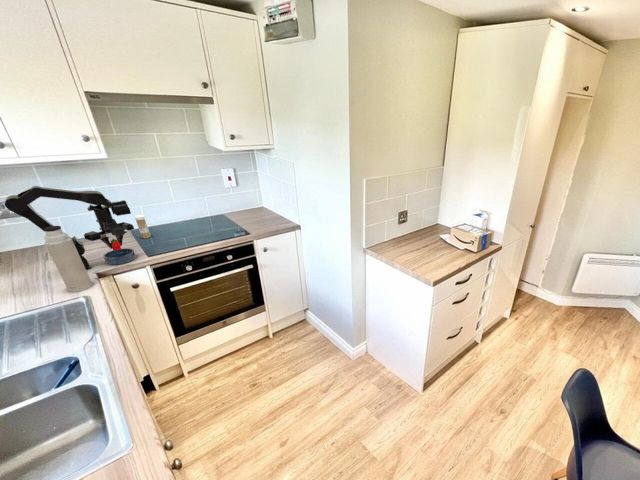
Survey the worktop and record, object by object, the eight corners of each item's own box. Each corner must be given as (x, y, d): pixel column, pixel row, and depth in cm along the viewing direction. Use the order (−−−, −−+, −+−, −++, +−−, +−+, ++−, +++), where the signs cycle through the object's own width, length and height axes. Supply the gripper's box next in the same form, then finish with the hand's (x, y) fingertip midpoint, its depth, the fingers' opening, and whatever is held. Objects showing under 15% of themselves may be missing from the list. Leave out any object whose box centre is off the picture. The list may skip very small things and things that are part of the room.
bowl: (115, 267, 158) (112, 260, 157) (100, 262, 162) (97, 255, 161) (141, 257, 169) (139, 251, 167) (127, 253, 173) (124, 246, 171)
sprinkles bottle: (140, 239, 190) (132, 217, 184) (143, 236, 194) (136, 214, 188) (149, 238, 192) (142, 216, 185) (152, 235, 195) (145, 214, 189)
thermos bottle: (63, 290, 138) (31, 230, 126) (81, 281, 145) (53, 223, 133) (79, 292, 138) (49, 231, 125) (97, 283, 145) (70, 224, 132)
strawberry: (115, 251, 160) (110, 240, 158) (109, 250, 162) (105, 239, 159) (124, 248, 164) (120, 238, 161) (119, 247, 165) (115, 236, 162)
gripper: (91, 226, 145) (104, 257, 152) (135, 215, 160) (145, 243, 167) (77, 222, 148) (90, 252, 155) (121, 211, 164) (132, 239, 171)
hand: (116, 247), depth 162 cm, fingers closed on strawberry, 4 cm apart
